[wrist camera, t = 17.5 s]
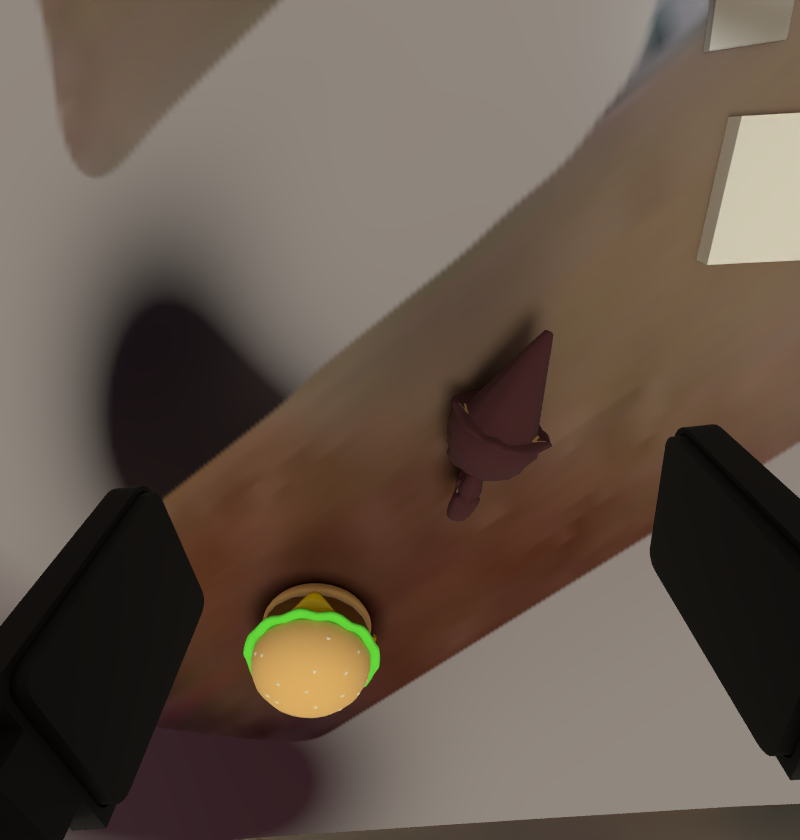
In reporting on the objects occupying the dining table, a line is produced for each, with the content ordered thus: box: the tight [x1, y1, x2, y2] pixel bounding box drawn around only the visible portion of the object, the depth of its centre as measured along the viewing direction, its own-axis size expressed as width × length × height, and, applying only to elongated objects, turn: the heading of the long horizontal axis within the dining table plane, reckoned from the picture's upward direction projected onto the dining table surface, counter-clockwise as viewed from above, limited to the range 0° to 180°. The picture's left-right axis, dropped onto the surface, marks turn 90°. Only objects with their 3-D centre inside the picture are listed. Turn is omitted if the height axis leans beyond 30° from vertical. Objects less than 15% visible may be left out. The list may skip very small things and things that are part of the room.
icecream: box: [447, 330, 553, 521], centre depth 35 cm, size 7×7×15 cm
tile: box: [696, 113, 800, 265], centre depth 31 cm, size 2×8×8 cm
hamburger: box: [243, 583, 380, 718], centre depth 46 cm, size 12×12×9 cm
